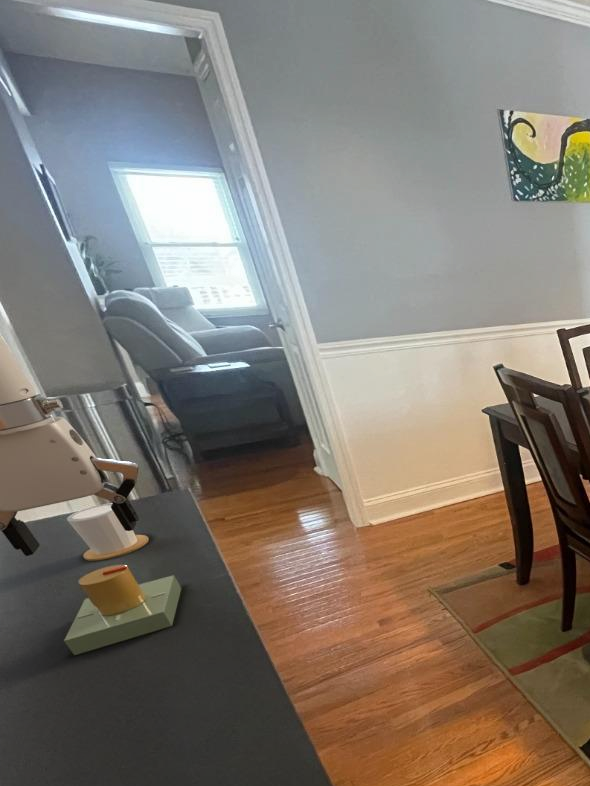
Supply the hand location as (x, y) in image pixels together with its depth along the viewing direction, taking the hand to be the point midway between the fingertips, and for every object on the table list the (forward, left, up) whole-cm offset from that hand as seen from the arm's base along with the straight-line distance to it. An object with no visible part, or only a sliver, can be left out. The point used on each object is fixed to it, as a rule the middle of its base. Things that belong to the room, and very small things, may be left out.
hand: (84, 538), depth 80 cm
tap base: (0, 0, -13) cm, 13 cm away
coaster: (-6, +31, -13) cm, 34 cm away
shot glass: (-6, +31, -13) cm, 34 cm away
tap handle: (0, 0, -11) cm, 11 cm away
